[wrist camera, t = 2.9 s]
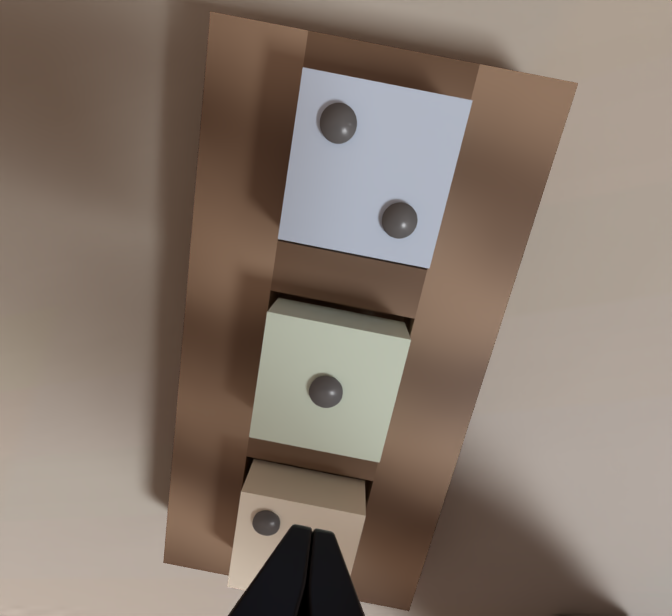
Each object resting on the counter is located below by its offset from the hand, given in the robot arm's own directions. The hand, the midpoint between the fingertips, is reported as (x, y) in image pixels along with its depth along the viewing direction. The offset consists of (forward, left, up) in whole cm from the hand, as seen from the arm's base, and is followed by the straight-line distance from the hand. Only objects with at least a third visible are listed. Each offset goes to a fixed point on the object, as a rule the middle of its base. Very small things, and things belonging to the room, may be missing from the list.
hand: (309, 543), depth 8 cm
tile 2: (+7, 0, -9) cm, 11 cm away
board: (0, 0, -11) cm, 11 cm away
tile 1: (0, 0, -9) cm, 9 cm away
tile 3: (-8, 0, -9) cm, 11 cm away
